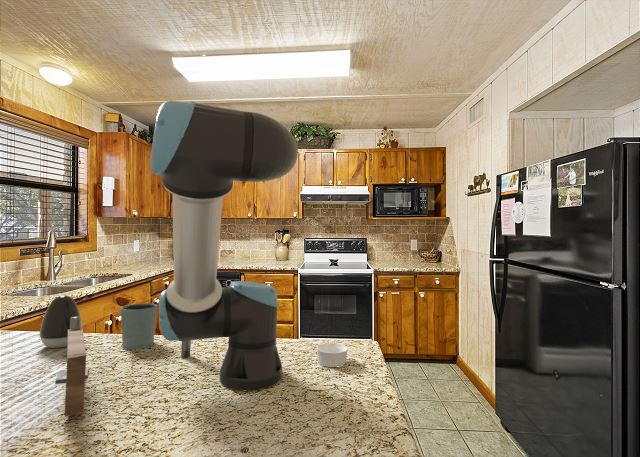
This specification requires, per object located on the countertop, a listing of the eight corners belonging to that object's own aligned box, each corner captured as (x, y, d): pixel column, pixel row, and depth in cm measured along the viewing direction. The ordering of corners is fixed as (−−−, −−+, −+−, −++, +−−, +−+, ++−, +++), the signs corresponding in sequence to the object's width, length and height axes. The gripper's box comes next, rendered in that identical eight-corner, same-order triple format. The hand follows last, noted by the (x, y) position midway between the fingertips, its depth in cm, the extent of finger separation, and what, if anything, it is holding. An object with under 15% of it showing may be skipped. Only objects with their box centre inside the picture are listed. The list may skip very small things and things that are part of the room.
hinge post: (87, 377, 78) (90, 318, 79) (55, 383, 75) (58, 321, 75) (88, 368, 83) (91, 313, 84) (58, 373, 80) (61, 316, 80)
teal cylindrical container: (136, 351, 96) (138, 310, 96) (110, 347, 99) (112, 307, 99) (163, 341, 106) (164, 304, 106) (138, 337, 109) (140, 301, 109)
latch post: (191, 357, 93) (192, 311, 93) (182, 358, 92) (183, 312, 92) (189, 354, 95) (191, 309, 95) (180, 356, 94) (182, 310, 94)
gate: (65, 374, 77) (67, 329, 77) (80, 372, 79) (82, 327, 79) (64, 416, 60) (67, 358, 60) (83, 412, 61) (86, 355, 62)
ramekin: (310, 360, 93) (311, 344, 94) (336, 355, 98) (337, 340, 98) (326, 371, 86) (326, 355, 86) (353, 366, 90) (354, 350, 90)
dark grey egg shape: (74, 337, 107) (76, 291, 107) (86, 344, 101) (88, 295, 101) (34, 345, 99) (36, 295, 99) (44, 353, 93) (47, 300, 93)
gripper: (183, 192, 102) (180, 268, 102) (192, 188, 91) (189, 272, 91) (208, 195, 106) (205, 267, 106) (219, 190, 95) (216, 271, 95)
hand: (198, 269), depth 98 cm, fingers closed
